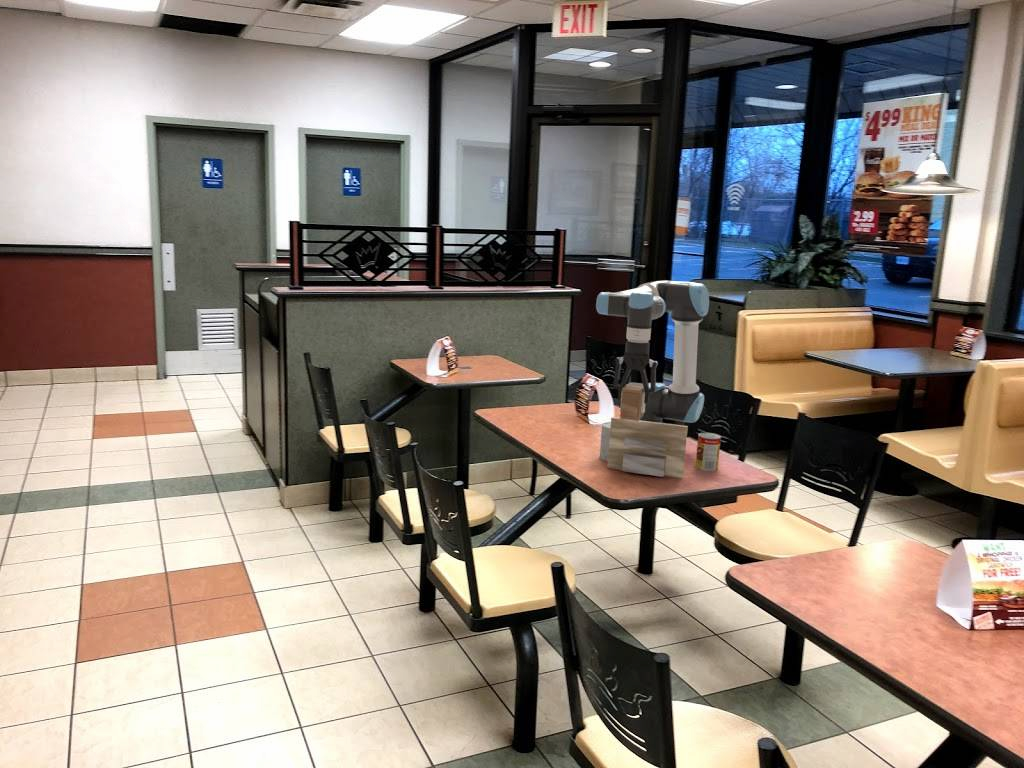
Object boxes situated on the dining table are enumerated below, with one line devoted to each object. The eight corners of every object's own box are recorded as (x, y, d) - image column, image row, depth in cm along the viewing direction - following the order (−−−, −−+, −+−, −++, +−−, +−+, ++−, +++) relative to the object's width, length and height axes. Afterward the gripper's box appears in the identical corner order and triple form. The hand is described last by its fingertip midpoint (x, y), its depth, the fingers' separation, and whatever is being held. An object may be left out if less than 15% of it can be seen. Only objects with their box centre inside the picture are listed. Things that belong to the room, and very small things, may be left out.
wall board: (608, 466, 292) (612, 417, 289) (683, 477, 285) (687, 426, 281) (604, 471, 286) (608, 420, 283) (680, 482, 279) (685, 430, 275)
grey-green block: (624, 463, 297) (627, 430, 295) (598, 460, 299) (600, 427, 297) (626, 456, 307) (629, 423, 304) (600, 453, 308) (602, 421, 306)
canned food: (712, 464, 301) (715, 432, 299) (721, 471, 294) (724, 438, 291) (691, 464, 300) (694, 432, 297) (700, 471, 292) (703, 438, 290)
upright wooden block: (627, 410, 277) (630, 381, 275) (645, 413, 275) (648, 383, 273) (619, 419, 265) (621, 388, 263) (637, 421, 263) (640, 391, 261)
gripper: (606, 339, 263) (600, 410, 268) (666, 345, 257) (659, 417, 262) (611, 336, 270) (606, 405, 275) (669, 342, 264) (663, 412, 269)
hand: (632, 411), depth 268 cm, fingers closed on upright wooden block, 6 cm apart
